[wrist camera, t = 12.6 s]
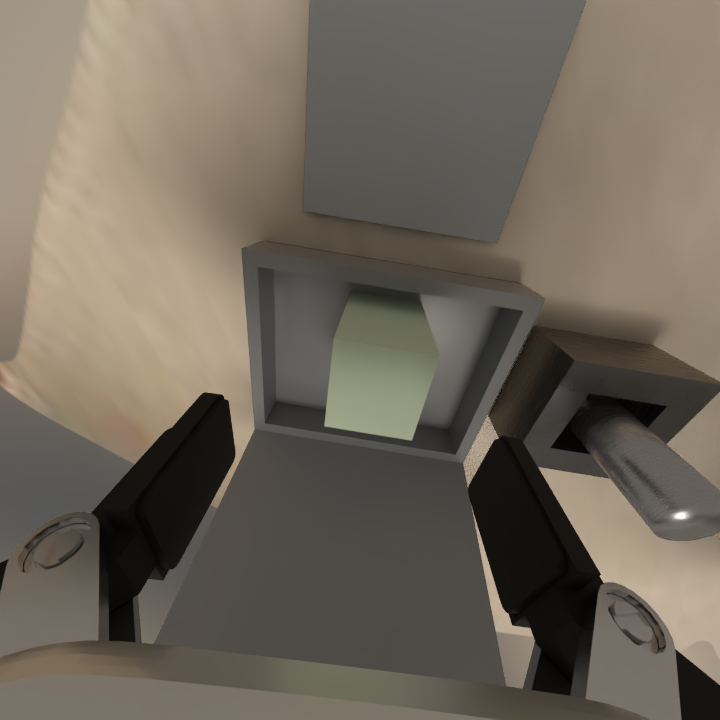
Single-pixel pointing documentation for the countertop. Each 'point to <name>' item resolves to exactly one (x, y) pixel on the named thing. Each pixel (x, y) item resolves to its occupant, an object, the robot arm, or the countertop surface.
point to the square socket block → (595, 376)
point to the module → (380, 366)
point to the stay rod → (647, 471)
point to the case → (320, 322)
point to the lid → (342, 564)
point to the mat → (428, 107)
